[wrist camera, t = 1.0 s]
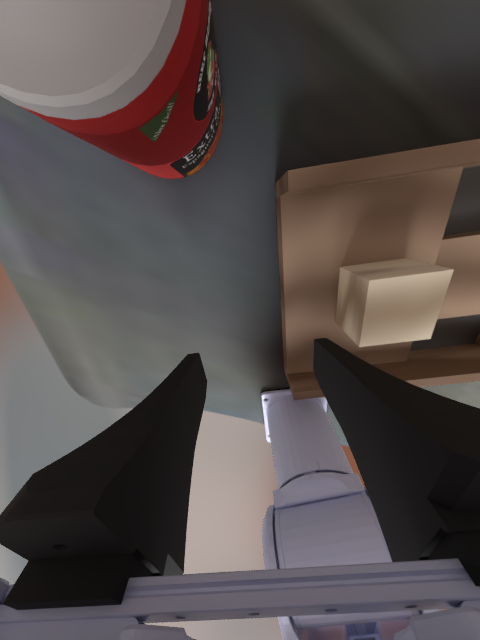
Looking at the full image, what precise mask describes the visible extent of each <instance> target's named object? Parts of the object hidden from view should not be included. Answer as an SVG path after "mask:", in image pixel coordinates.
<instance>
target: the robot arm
mask: <svg viewBox="0 0 480 640" xmlns="http://www.w3.org/2000/svg"><path fill="white" fill-rule="evenodd" d="M313 371H314V373H315V376H316V379H317V381H318V384H319V386H320V388H321V390H322V392H323V394H324V396H325V397H320V398H310V399H301V400H294V399H293V396H292V393H291V390H290V389H286V390H276V391H267V392H263V393H262V394H261V398H262V406H263V414H264V422H265V430H266V438H267V441H268V442H271V448H272V454H273V461H274V468H275V475H276V481H277V488H278V489H277V490H274V491H273V496H274V505H270V506H269V507H268V509H267V512H266V515H265V517H264V521H263V530H262V532H263V533H262V540H263V555H264V564H265V570H254V571H253V570H252V571H235V572H220V573H219V572H218V573H203V574H202V573H201V574H185V575H183V573H184V557H185V542H186V529H187V517H188V506H189V494H190V485H191V476H192V467H193V459H194V451H195V445H196V440H197V435H198V431H199V426H200V422H201V417H202V413H203V408H204V404H205V399H206V389H207V379H206V376H205V372H204V368H203V365H202V361H201V358H200V354H199V353H193V354H188V355H187V356H186V357H185V358H184V359H183V360H182V361H181V362H180V364H179V365H178V366H177V367H176V368H175V369H174V370H173V371H172V372H171V373H170V374H169V376H168V377H167V378H166V379H165V380H164V381H163V382H162V383H161V384H160V385H159V386H158V387H157V388H156V389H155V390H154V391H153V392H152V393H151V394H149V395H148V396H147V397H146V398H145V399H144V400H143V401H142V402H141V403H139V404H138V405H137V406H136V407H135V408H133V409H132V410H131V411H130V412H129V413H127V414H126V415H125V416H123V417H122V418H121V419H119V420H118V421H116V422H115V423H114V424H112V425H111V426H110V427H108V428H107V429H106V430H104V431H103V432H101V433H100V434H98V435H97V436H96V437H94V438H92V439H91V440H89V441H88V442H86V443H85V444H83V445H82V446H80V447H78V448H77V449H75V450H74V451H72V452H70V453H69V454H67V455H65V456H63V457H62V458H60V459H58V460H57V461H55V462H53V463H51V464H50V465H48V466H46V467H45V468H43V469H41V470H39V471H38V472H36V473H34V474H33V475H32V476H31V477H30V479H29V480H28V481H27V482H26V484H25V485H24V486H23V487H22V489H21V490H20V491H19V492H18V493H17V495H16V496H15V497H14V499H13V500H12V501H11V502H10V504H9V505H8V506H7V507H6V508H5V510H4V511H3V512H2V514H1V515H0V544H1V545H3V546H5V547H6V548H8V549H10V550H12V551H13V552H15V553H17V554H18V555H20V556H22V557H23V558H25V559H27V560H29V561H28V563H27V565H26V566H25V568H24V569H23V571H22V573H21V574H20V576H19V578H18V579H17V581H16V583H15V584H14V585H9V582H8V581H6V580H4V579H2V578H0V640H195V639H192V638H191V637H189V636H187V635H186V632H185V630H184V628H177V627H167V626H155V625H145V624H144V623H157V622H178V621H200V620H222V619H243V618H265V617H277V618H278V621H279V626H280V630H281V634H282V639H283V640H480V409H479V408H476V407H473V406H470V405H467V404H463V403H460V402H457V401H455V400H452V399H449V398H446V397H443V396H441V395H438V394H435V393H433V392H430V391H428V390H425V389H422V388H420V387H417V386H415V385H413V384H410V383H408V382H406V381H403V380H401V379H399V378H397V377H395V376H392V375H390V374H388V373H386V372H384V371H382V370H380V369H378V368H377V367H375V366H373V365H371V364H369V363H367V362H365V361H364V360H362V359H360V358H359V357H357V356H355V355H353V354H352V353H350V352H349V351H347V350H345V349H344V348H342V347H340V346H339V345H337V344H336V343H334V342H332V341H331V340H329V339H327V338H319V339H314V357H313ZM265 398H267V399H265ZM327 402H328V404H329V406H330V407H331V409H332V411H333V413H334V415H335V417H336V419H337V421H338V423H339V424H340V426H341V428H342V430H343V433H344V435H345V437H346V439H347V442H348V444H349V446H350V449H351V451H352V454H353V456H354V458H355V460H356V463H357V466H358V469H359V471H360V474H361V476H362V479H363V481H364V484H365V487H363V485H362V483H361V481H360V479H359V476H358V474H356V473H353V471H352V469H351V467H350V464H349V462H348V460H347V458H346V455H345V454H344V451H343V449H342V447H341V444H340V442H339V440H338V438H337V436H336V433H335V431H334V429H333V427H332V425H331V423H330V420H329V418H328V416H327V414H326V411H327ZM439 609H447V610H442V611H439Z"/></svg>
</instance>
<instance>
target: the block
mask: <svg viewBox="0 0 480 640" xmlns="http://www.w3.org/2000/svg"><path fill="white" fill-rule="evenodd" d="M453 271H454V269H450V268H446V267H442V266H437V265H433V264H428V263H424V262H420V261H415V260H411V259H407V258H402V259H395V260H388V261H380V262H373V263H366V264H358V265H351V266H344V267H340V274H339V286H338V298H337V310H336V321H335V322H336V323H337V324H338V325H339V326H340V328H341V329H342V330H343V331H344V332H345V333H346V334H347V335H348V336H349V337H350V338H351V339H352V340H353V341H354V342H355V343H356V344H357V345H358V346H359V347H365V346H374V345H383V344H391V343H400V342H409V341H417V340H426V339H431V336H432V333H433V330H434V327H435V324H436V321H437V318H438V315H439V312H440V309H441V306H442V303H443V300H444V297H445V295H446V292H447V289H448V286H449V283H450V280H451V277H452V274H453Z"/></svg>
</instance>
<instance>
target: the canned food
mask: <svg viewBox="0 0 480 640" xmlns="http://www.w3.org/2000/svg"><path fill="white" fill-rule="evenodd" d="M0 96H2V97H4V98H6V99H7V100H9V101H11V102H12V103H14V104H16V105H18V106H20V107H22V108H24V109H25V110H27V111H29V112H31V113H33V114H35V115H37V116H39V117H40V118H42V119H44V120H46V121H47V122H49V123H51V124H53V125H55V126H57V127H59V128H61V129H63V130H65V131H67V132H69V133H71V134H73V135H75V136H77V137H78V138H80V139H82V140H84V141H86V142H88V143H90V144H92V145H94V146H96V147H98V148H100V149H102V150H104V151H106V152H108V153H110V154H112V155H114V156H116V157H118V158H120V159H122V160H124V161H126V162H128V163H130V164H132V165H134V166H136V167H137V168H139V169H141V170H143V171H145V172H147V173H149V174H152V175H155V176H158V177H161V178H168V179H176V178H183V177H186V176H189V175H192V174H193V173H195V172H196V171H198V170H199V169H201V168H202V167H203V166H204V165H205V164H206V163H207V162H208V160H209V159H210V157H211V156H212V154H213V152H214V151H215V149H216V146H217V144H218V141H219V138H220V134H221V129H222V123H223V101H222V93H221V84H220V76H219V68H218V60H217V52H216V44H215V35H214V27H213V19H212V11H211V3H210V0H0Z"/></svg>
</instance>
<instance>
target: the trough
mask: <svg viewBox="0 0 480 640" xmlns="http://www.w3.org/2000/svg"><path fill="white" fill-rule="evenodd" d="M275 198H276V218H277V238H278V258H279V278H280V298H281V318H282V337H283V357H284V370H285V373H286V377H287V380H288V383H289V386H290V390H291V393H292V396H293V399H294V400H301V399H310V398H320V397H325V396H324V394H323V392H322V390H321V388H320V386H319V384H318V381H317V379H316V376H315V373H314V371H313V357H314V339H319V338H327V339H329V340H331V341H332V342H334V343H336V344H337V345H339V346H340V347H342V348H344V349H345V350H347V351H349V352H350V353H352V354H353V355H355V356H357V357H359V358H360V359H362V360H364V361H365V362H367V363H369V364H371V365H373V366H375V367H377V368H378V369H380V370H382V371H384V372H386V373H388V374H390V375H392V376H395V377H397V378H399V379H401V380H403V381H406V382H408V383H410V384H413V385H415V386H417V387H426V386H435V385H445V384H455V383H464V382H474V381H480V139H475V140H469V141H463V142H457V143H451V144H445V145H439V146H433V147H427V148H420V149H414V150H408V151H402V152H396V153H390V154H384V155H378V156H372V157H366V158H360V159H354V160H348V161H342V162H336V163H330V164H324V165H318V166H311V167H305V168H299V169H293V170H288V171H287V172H286V173H285V174H284V175H283V176H282V177H281V178H280V179H279V180H278V181H277V182H276V183H275ZM402 258H407V259H411V260H415V261H420V262H424V263H428V264H433V265H437V266H442V267H446V268H450V269H454V271H453V274H452V277H451V280H450V283H449V286H448V289H447V292H446V295H445V297H444V300H443V303H442V306H441V309H440V312H439V315H438V318H437V321H436V324H435V327H434V330H433V333H432V336H431V339H426V340H417V341H409V342H400V343H391V344H383V345H374V346H365V347H359V346H358V345H357V344H356V343H355V342H354V341H353V340H352V339H351V338H350V337H349V336H348V335H347V334H346V333H345V332H344V331H343V330H342V329H341V328H340V326H339V325H338V324H337V323H336V322H335V321H336V310H337V298H338V286H339V274H340V267H344V266H351V265H358V264H366V263H373V262H380V261H388V260H395V259H402Z"/></svg>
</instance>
